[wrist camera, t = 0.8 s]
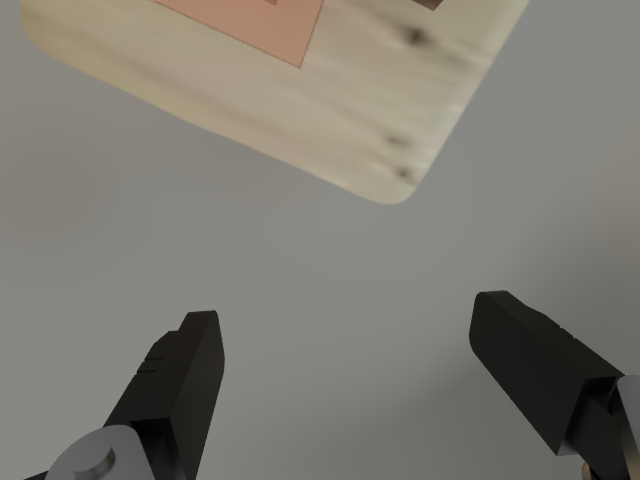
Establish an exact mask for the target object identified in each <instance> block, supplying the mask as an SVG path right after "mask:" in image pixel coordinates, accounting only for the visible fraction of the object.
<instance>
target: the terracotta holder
mask: <svg viewBox="0 0 640 480" xmlns="http://www.w3.org/2000/svg"><path fill="white" fill-rule="evenodd" d="M151 1H154V2H156V3H158V4H160V5H162V6H165V7H167V8H169V9H171V10H173V11H175V12H178V13H180V14H182V15H184V16H186V17H188V18H191V19H193V20H195V21H197V22H199V23H202V24H204V25H206V26H208V27H210V28H212V29H215V30H217V31H219V32H221V33H223V34H225V35H228V36H230V37H232V38H234V39H236V40H239V41H241V42H243V43H245V44H247V45H249V46H252V47H254V48H256V49H258V50H260V51H262V52H265V53H267V54H269V55H271V56H273V57H276V58H278V59H280V60H282V61H284V62H286V63H289V64H291V65H293V66H295V67H297V68H299V69H301V66H302V63H303V60H304V57H305V54H306V51H307V48H308V46H309V43H310V40H311V37H312V34H313V31H314V28H315V25H316V22H317V19H318V17H319V14H320V11H321V8H322V5H323V2H324V0H151Z"/></svg>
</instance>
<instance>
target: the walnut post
mask: <svg viewBox="0 0 640 480" xmlns="http://www.w3.org/2000/svg"><path fill="white" fill-rule="evenodd" d="M413 1H415V2H417V3H419V4H421V5H423V6H425V7H427V8H429V9H431V10H433V11H434V10H435V9H436V8H437V7H438V5H439V4H440V3H441V2H442V1H443V0H413Z"/></svg>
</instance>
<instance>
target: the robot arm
mask: <svg viewBox="0 0 640 480" xmlns="http://www.w3.org/2000/svg"><path fill="white" fill-rule="evenodd" d="M469 340H470V345H471V348H472V350H473V352H474V353H475V355H476V356H477V357H478V358H479V360H480V361H481V362H482V363H483V365H484V366H485V367H486V368H487V370H488V371H489V372H490V374H491V375H492V376H493V377H494V379H495V380H496V381H497V382H498V384H499V385H500V386H501V387H502V388H503V390H504V391H505V392H506V394H507V395H508V396H509V397H510V398H511V400H512V401H513V402H514V403H515V405H516V406H517V407H518V409H519V410H520V411H521V412H522V413H523V415H524V416H525V417H526V418H527V420H528V421H529V422H530V423H531V424H532V426H533V427H534V429H535V430H536V431H537V432H538V433H539V435H540V436H541V437H542V439H543V440H544V441H545V442H546V444H547V445H548V446H549V447H550V448H551V450H552V451H553V452H554V453H555V455H556V456H564V455H573V454H579V455H580V456H581V457H582V458H583V459H584V460H585V462H584V464H583V466H582V479H583V480H640V376H637V375H627V376H626V375H624V374H623V373H622V372H620V371H619V370H618V369H616V368H615V367H614V366H612V365H611V364H610V363H608V362H607V361H606V360H604V359H603V358H601V357H600V356H599V355H598V354H596V353H595V352H594V351H592V350H591V349H590V348H588V347H587V346H586V345H584V344H583V343H582V342H580V341H579V340H578V339H576V338H573V336H572V335H571V334H570V333H568V332H567V331H566V330H565V329H563V328H560V326H559V325H558V324H557V323H555V322H554V321H553V320H551V319H550V318H549V317H547V316H546V315H544V314H543V313H541V312H538V311H536V310H534V309H532V308H530V307H528V306H526V305H525V304H523V303H522V302H521V301H519V300H518V299H517V298H516V297H514V296H513V295H512V294H510V293H509V292H508V291H504V290H502V291H490V292H489V291H488V292H480V293H479V294H477V296H476V298H475V303H474V309H473V314H472V320H471V326H470V331H469ZM224 361H225V358H224V349H223V343H222V337H221V331H220V325H219V319H218V314H217V312H216V311H215V310H212V311H198V312H189V313H188V314H187V315H186V317H185V319H184V321H183V322H182V324H181V326H180V328H179V330H178V331H168V332H167V333H166V334H165V335H164V336H163V337H161V338H160V339H159V340H158V341H157V342H155V343H154V344H153V346H152V348H151V349H150V351H149V352H148V354H147V356H146V357H145V361H144V362H142V364H141V365H140V367H139V369H138V370H137V374H136V375H134V377H133V379H132V380H131V382H130V383H129V385H128V387H127V388H126V390H125V392H124V393H123V395H122V396H121V398H120V400H119V401H118V403H117V405H116V406H115V408H114V409H113V411H112V413H111V414H110V416H109V418H108V419H107V421H106V423H105V424H104V426H103V427H102V428H101V429H98V430H95V431H93V432H91V433H89V434H87V435H85V436H84V437H82V438H81V439H79V440H78V441H76V442H75V443H73V444H72V445H71V446H70V447H69V448H67V449H66V450H65V451H64V452H63V453H62V454H61V455H60V456H59V457H58V458H57V460H56V461H55V462H54V463H53V465H52V466H51V468H50V470H48V471H45V472H43V473H40V474H38V475H35V476H32V477H30V478H27V479H25V480H196V476H197V472H198V469H199V465H200V461H201V457H202V453H203V450H204V446H205V442H206V438H207V434H208V430H209V427H210V423H211V419H212V415H213V412H214V408H215V404H216V400H217V396H218V393H219V389H220V385H221V381H222V377H223V373H224Z"/></svg>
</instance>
